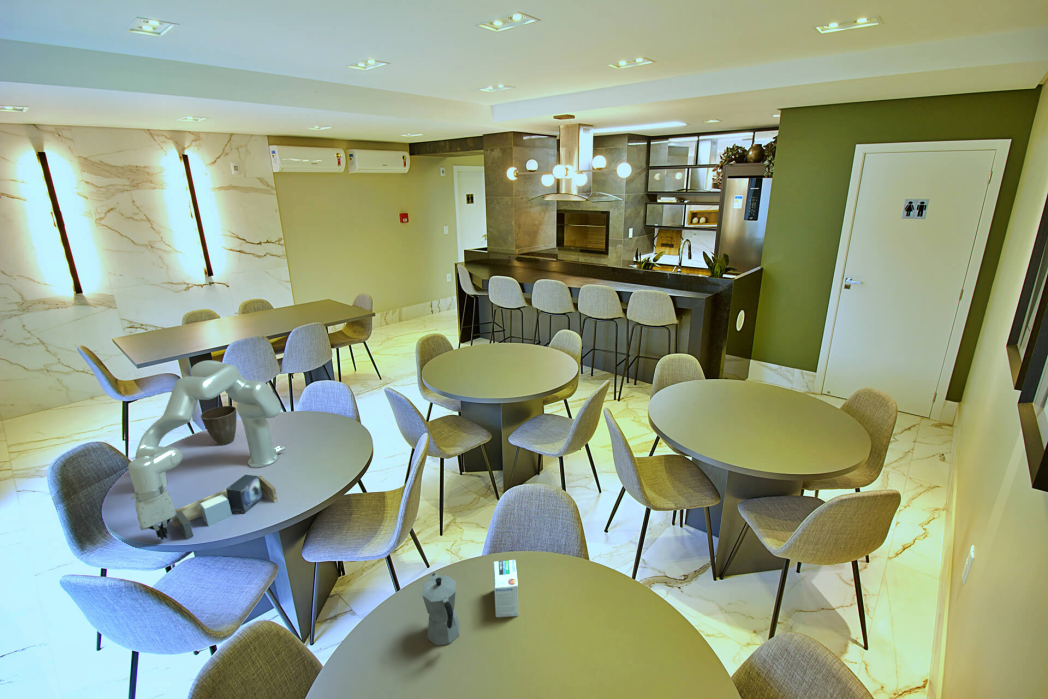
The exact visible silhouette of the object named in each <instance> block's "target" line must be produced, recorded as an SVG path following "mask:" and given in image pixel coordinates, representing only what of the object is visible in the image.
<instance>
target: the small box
mask: <svg viewBox="0 0 1048 699" xmlns="http://www.w3.org/2000/svg"><path fill="white" fill-rule="evenodd" d="M258 476H259V475H251V474H244V475H243V476H241V477H240V478H239V479H238V480H236V481H235V482H233V483H232V484H230V485H229V486H228V487H227V488H225V489H226V491H227V495H228V500H229V505H230V509H231V513H237V514H241V515H242V514H246V513H247V512H248V511H250V510H251V509H252V508H253V507H254V506H256V505H257V504H258V503H259V502H261V501H262V500H263V499H264V497H263V493H262V492H263V491H262V490H261V487H260V482H259V477H258Z"/></svg>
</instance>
